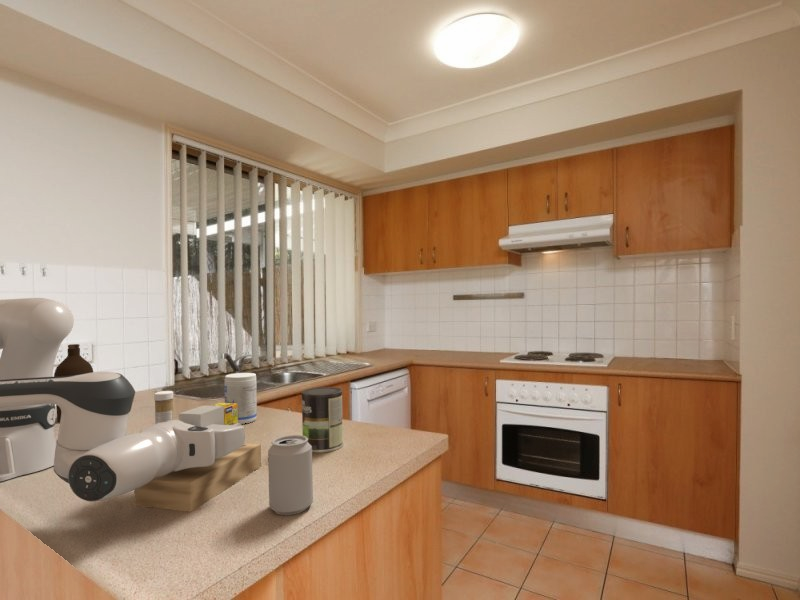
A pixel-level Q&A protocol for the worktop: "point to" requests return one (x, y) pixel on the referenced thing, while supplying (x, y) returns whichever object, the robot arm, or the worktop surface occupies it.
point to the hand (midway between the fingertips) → (218, 425)
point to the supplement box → (229, 412)
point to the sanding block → (203, 416)
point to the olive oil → (72, 367)
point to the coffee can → (322, 418)
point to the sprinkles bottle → (163, 406)
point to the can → (290, 474)
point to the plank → (199, 481)
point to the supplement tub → (242, 395)
